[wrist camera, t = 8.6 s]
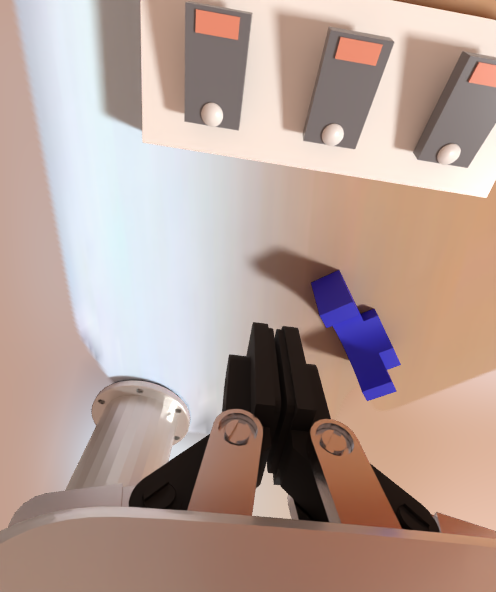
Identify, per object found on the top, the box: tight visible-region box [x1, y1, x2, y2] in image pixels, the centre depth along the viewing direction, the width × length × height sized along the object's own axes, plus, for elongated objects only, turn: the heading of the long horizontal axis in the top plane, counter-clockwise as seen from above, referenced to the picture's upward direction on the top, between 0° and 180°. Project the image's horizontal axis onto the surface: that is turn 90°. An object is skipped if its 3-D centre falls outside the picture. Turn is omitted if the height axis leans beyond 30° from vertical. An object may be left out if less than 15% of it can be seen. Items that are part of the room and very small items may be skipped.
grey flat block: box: [413, 51, 496, 168], centre depth 22 cm, size 6×4×1 cm, turn 172°
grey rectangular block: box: [184, 1, 253, 131], centre depth 21 cm, size 6×4×1 cm, turn 172°
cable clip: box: [311, 270, 401, 401], centre depth 34 cm, size 12×4×6 cm, turn 30°
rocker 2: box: [303, 26, 394, 149], centre depth 21 cm, size 6×4×1 cm, turn 172°
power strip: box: [140, 0, 496, 198], centre depth 24 cm, size 10×31×4 cm, turn 82°
